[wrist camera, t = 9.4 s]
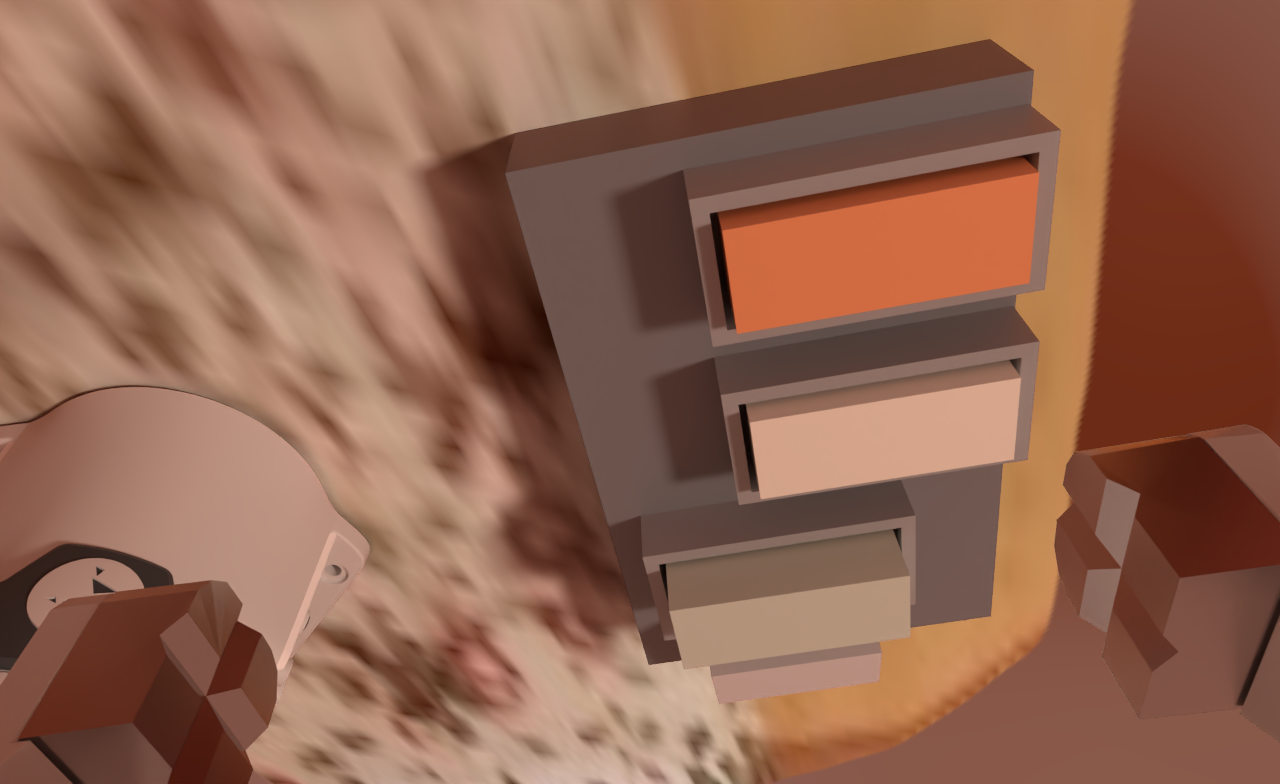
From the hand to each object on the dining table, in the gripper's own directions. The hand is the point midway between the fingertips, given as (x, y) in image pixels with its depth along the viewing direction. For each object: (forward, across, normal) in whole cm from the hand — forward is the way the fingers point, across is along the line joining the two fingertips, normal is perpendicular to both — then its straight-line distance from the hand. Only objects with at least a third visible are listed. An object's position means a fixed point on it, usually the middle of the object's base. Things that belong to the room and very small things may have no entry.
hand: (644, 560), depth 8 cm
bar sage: (+21, +3, -24) cm, 32 cm away
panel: (+27, +5, -18) cm, 33 cm away
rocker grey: (+21, +4, -30) cm, 37 cm away
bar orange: (+23, +8, -8) cm, 25 cm away
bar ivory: (+23, +8, -16) cm, 29 cm away
